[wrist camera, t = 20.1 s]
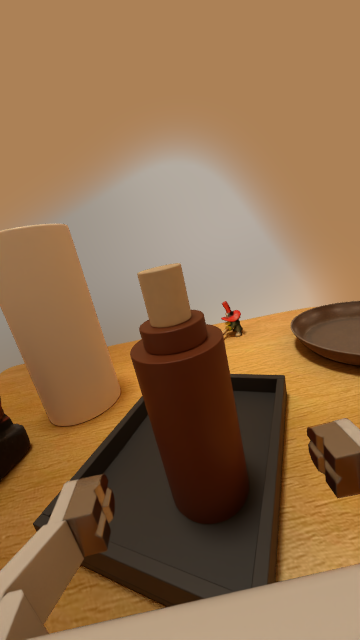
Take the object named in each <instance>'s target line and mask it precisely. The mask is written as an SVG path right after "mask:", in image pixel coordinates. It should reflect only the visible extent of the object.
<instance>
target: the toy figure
mask: <svg viewBox="0 0 360 640" xmlns="http://www.w3.org/2000/svg"><path fill="white" fill-rule="evenodd" d="M222 305H223V307H224V308H225V309H226V314H225V315H226V317H223V318H221V319H222V320H225V321H228V322H225V324H226V325H228V326H226V329H225V330H224V331H223V332H222V333H223V335H224V334H225V333H226V332H227V331H231V330H233V331H237V334H236V337H237V336H240V335H242V332H241V330H242V327H241V325H240V321H239V318H240V315H241V313H240V311H238V310H235V311H231V310H230V307H229V305H228V303H227V302H226V301H225V302H223V303H222ZM233 328H234V329H233Z"/></svg>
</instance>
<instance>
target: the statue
mask: <svg viewBox="0 0 360 640" xmlns="http://www.w3.org/2000/svg"><path fill="white" fill-rule="evenodd" d="M29 446H30V441H29V438H28V435H27V433H26V430H25V428H24V427H23V426H22V425H19V424H13V423H12V421H11V419H10V418H9V417H8V416H7V415H6V414H4V412H3V409H2V407H1V398H0V480H1V479H2V478H3V477H4V476H5V475H6V474H7V473H8V472H9V471H10V469H11V468H12V467H13V466H14V465H15V464H16V463H17V462H18V461H19V460H20V459H21V458H22V457H23V456H24V454H25V453H26V452H27V450H28V448H29Z"/></svg>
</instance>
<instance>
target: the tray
mask: <svg viewBox="0 0 360 640" xmlns="http://www.w3.org/2000/svg"><path fill="white" fill-rule="evenodd" d="M230 377H231V383H232V388H233V394H234V399H235V405H236V411H237V416H238V422H239V428H240V433H241V439H242V444H243V450H244V456H245V461H246V467H247V472H248V478H249V493H248V497H247V499H246V502H245V503H244V505H243V507H242V508H241V509H240V510H239V511H238V512H237V513H236V514H235V515H234V516H232V517H231V518H229V519H227V520H225V521H223V522H220V523H215V524H202V523H197V522H195V521H192V520H190V519H188V518H187V517H186V516H184V515H183V514H182V513H181V512H180V511H179V509H178V508H177V507H176V504H175V502H174V499H173V496H172V493H171V489H170V486H169V483H168V479H167V476H166V473H165V469H164V466H163V463H162V459H161V456H160V453H159V449H158V446H157V442H156V439H155V436H154V432H153V429H152V426H151V422H150V419H149V416H148V412H147V409H146V406H145V402H144V399H143V396H142V397H141V398H140V399H139V400H138V402H137V403H136V404H135V405H134V406H133V407H132V409H131V410H130V411H129V412H128V413H127V414H126V416H125V417H124V418H123V419H122V420H121V421H120V423H119V424H118V425H117V426H116V427H115V428H114V430H113V431H112V432H111V433H110V434H109V435H108V437H107V438H106V439H105V440H104V441H103V442H102V444H101V445H100V446H99V447H98V448H97V449H96V451H95V452H94V453H93V454H92V455H91V456H90V458H89V459H88V460H87V461H86V462H85V463H84V465H83V466H82V467H81V468H80V469H79V470H78V472H77V473H76V474H75V475H74V476H73V477H72V478H71V480H70V481H73V480H78V479H81V478H86V477H91V476H96V475H101V474H106V476H107V478H108V486H107V487H109V488H110V489H112V491H113V494H114V498H115V512H114V518H113V519H112V521H111V522H110V523H109V526H110V529H111V535H110V540H109V545H108V551H105V552H101V553H97V554H93V555H90V556H86V557H84V560H83V561H82V563H81V565H83V566H85V567H87V568H89V569H91V570H93V571H95V572H97V573H99V574H101V575H103V576H105V577H107V578H109V579H112V580H114V581H116V582H118V583H120V584H122V585H124V586H126V587H128V588H130V589H132V590H134V591H136V592H138V593H140V594H143V595H145V596H147V597H149V598H151V599H153V600H155V601H157V602H159V603H161V604H163V605H165V606H167V607H170V606H175V605H179V604H184V603H188V602H192V601H197V600H201V599H206V598H210V597H214V596H219V595H223V594H228V593H232V592H236V591H241V590H245V589H250V588H254V587H258V586H263V585H267V584H272V583H275V577H276V560H277V544H278V528H279V511H280V495H281V479H282V463H283V446H284V430H285V414H286V397H287V392H286V383H285V375H252V374H230ZM60 493H61V491H60V492H59V494H58V495H57V496H56V497H55V498H54V499H53V501H52V502H51V503H50V504H49V505H48V506H47V508H46V509H45V510H44V511H43V512H42V514H41V515H40V516H39V517H38V518H37V519H36V521H35V522H34V523H33V525H34V527H35V529H36V531H38V530H39V529H40V528H41V527H42V526H43V525H47V523H48V521H49V519H50V516H51V514H52V512H53V509H54V507H55V505H56V502H57V500H58V497H59V495H60Z"/></svg>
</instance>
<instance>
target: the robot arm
mask: <svg viewBox="0 0 360 640" xmlns="http://www.w3.org/2000/svg"><path fill="white" fill-rule="evenodd" d="M307 436H308V437H309V438H310V440H311V441H310V443H309V444H308V447H309V453H310V456H311V459H312V461H313V463H314V465H315V466H316V468H317V469H318V471H320V472H321V473H323V474H325V476H326V482H327V484H328V485H329V487H330V488H331V489H332V491H333V492H334V494H335V495H336V497H337V498H343V497H348V496H353V495H358V494H360V429H358V428H357V427H356V426H355V425H354V424H353V423H352V422H351V421H350V420H349V419H346V418H344V419H340V420H335V421H333V422H327V423H323V424H319V425H315V426H311V427H308V428H307ZM107 486H108V478H107V476H106V474H101V475H96V476H91V477H86V478H81V479H78V480H73V481H67V482H66V483H65V484H64V486H63V488H62V490H61V493H60V495H59V497H58V500H57V502H56V505H55V507H54V509H53V512H52V514H51V516H50V519H49V521H48V523H47V525H43V526H42V527H41V528H40V529H39V530H38V531H37V533H36V534H35V535H34V536H33V537H32V538H31V539H30V540H29V541H28V542H27V543H26V544H25V545H24V546H23V547H22V548H21V550H20V551H19V552H18V553H17V554H16V555H15V556H14V557H13V558H12V559H11V560H10V561H9V562H8V563H7V564H6V565H5V567H4V568H3V569H2V570H1V571H0V640H360V563H359V564H355V565H351V566H346V567H342V568H337V569H333V570H329V571H324V572H320V573H316V574H311V575H307V576H302V577H298V578H294V579H289V580H285V581H280V582H276V583H272V584H267V585H263V586H258V587H254V588H250V589H245V590H241V591H236V592H232V593H228V594H223V595H219V596H214V597H210V598H206V599H201V600H197V601H192V602H188V603H184V604H179V605H175V606H170V607H166V608H162V609H157V610H153V611H148V612H144V613H139V614H135V615H131V616H126V617H122V618H117V619H113V620H109V621H104V622H100V623H95V624H91V625H87V626H82V627H78V628H73V629H69V630H64V631H60V632H56V633H51V634H49V633H48V631H47V629H46V628H45V626H44V625H43V624H44V623H45V621H46V620H47V618H48V616H49V615H50V613H51V612H52V610H53V608H54V607H55V605H56V603H57V602H58V600H59V599H60V597H61V595H62V594H63V592H64V590H65V589H66V587H67V586H68V584H69V582H70V581H71V579H72V577H73V576H74V574H75V573H76V571H77V569H78V568H79V566H80V565H81V563H82V561H83V560H84V557H86V556H90V555H93V554H97V553H101V552H105V551H108V545H109V540H110V535H111V529H110V526H109V523H110V522H111V521H112V519H113V518H114V512H115V498H114V494H113V491H112V489H110V488H109V487H107Z"/></svg>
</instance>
